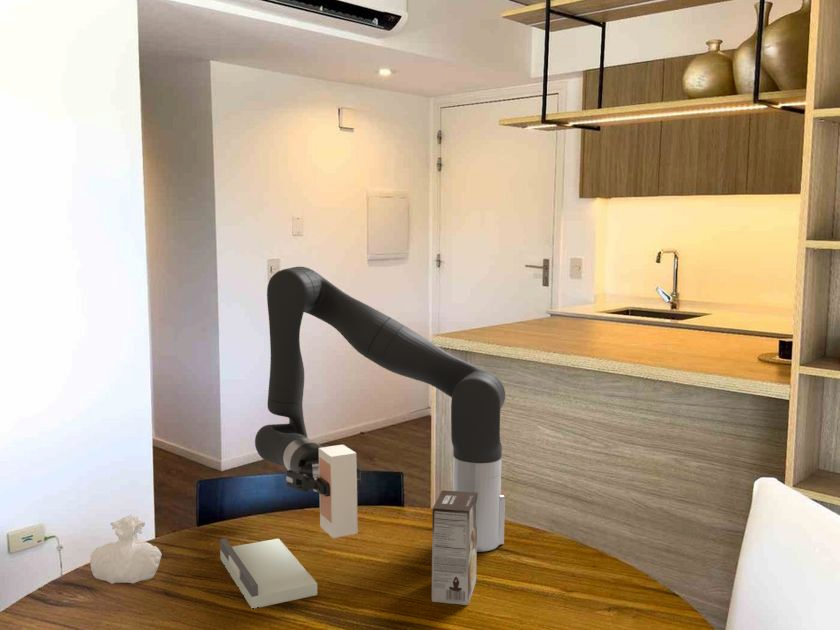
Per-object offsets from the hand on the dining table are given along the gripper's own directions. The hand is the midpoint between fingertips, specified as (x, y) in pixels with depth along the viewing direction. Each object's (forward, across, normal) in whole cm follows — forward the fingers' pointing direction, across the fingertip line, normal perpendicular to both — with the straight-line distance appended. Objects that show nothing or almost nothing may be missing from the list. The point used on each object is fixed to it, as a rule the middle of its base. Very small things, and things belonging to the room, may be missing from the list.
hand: (342, 488), depth 133 cm
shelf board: (-9, -11, +17) cm, 22 cm away
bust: (-19, -32, +16) cm, 41 cm away
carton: (-2, 0, +8) cm, 8 cm away
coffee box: (+11, +16, +18) cm, 26 cm away
